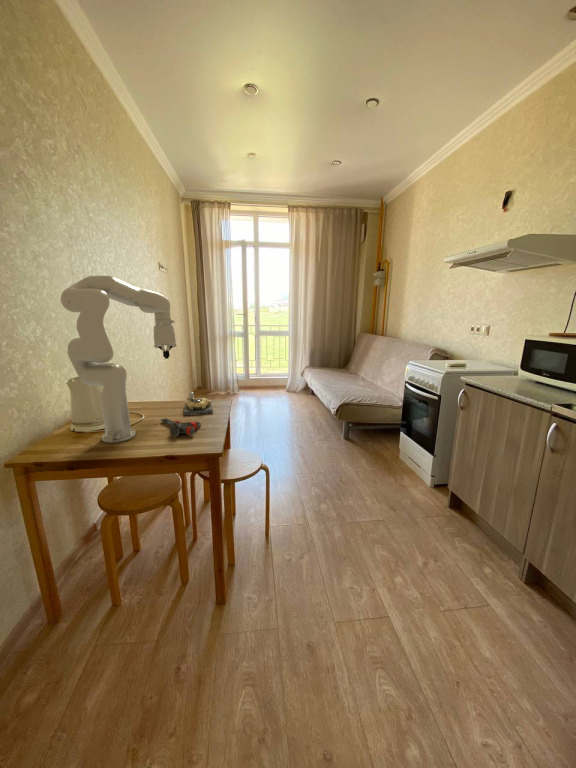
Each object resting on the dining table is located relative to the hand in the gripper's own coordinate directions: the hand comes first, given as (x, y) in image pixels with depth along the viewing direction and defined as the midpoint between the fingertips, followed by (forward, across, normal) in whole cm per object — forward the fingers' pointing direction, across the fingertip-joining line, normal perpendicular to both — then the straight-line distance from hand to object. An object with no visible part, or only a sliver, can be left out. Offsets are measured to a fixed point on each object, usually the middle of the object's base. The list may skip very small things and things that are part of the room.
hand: (166, 358), depth 159 cm
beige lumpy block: (+25, -13, +10) cm, 30 cm away
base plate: (+27, -13, +10) cm, 32 cm away
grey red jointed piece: (+28, -2, +31) cm, 42 cm away
